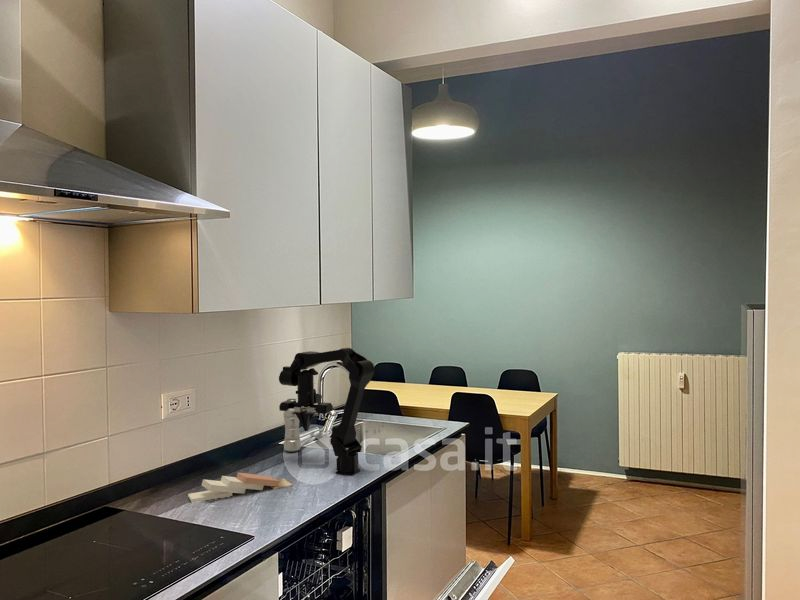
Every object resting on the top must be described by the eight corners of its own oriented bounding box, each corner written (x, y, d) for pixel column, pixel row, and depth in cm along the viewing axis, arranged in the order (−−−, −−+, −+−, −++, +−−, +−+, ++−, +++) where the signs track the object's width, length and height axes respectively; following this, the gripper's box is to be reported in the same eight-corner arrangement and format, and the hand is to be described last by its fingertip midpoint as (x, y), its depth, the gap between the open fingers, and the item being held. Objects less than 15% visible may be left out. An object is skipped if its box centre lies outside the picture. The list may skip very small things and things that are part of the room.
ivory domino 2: (237, 482, 200) (203, 479, 192) (246, 487, 195) (211, 484, 188) (235, 488, 199) (201, 485, 191) (244, 493, 195) (209, 490, 187)
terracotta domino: (270, 476, 205) (237, 472, 197) (279, 481, 201) (246, 477, 193) (268, 481, 204) (236, 478, 197) (277, 486, 200) (244, 483, 193)
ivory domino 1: (227, 487, 198) (187, 493, 192) (232, 492, 193) (191, 499, 187) (227, 492, 198) (188, 499, 192) (232, 498, 193) (191, 505, 187)
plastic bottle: (280, 452, 242) (279, 400, 242) (289, 448, 248) (288, 397, 248) (295, 454, 240) (294, 401, 239) (304, 449, 246) (303, 398, 245)
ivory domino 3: (255, 479, 203) (222, 475, 195) (264, 484, 199) (230, 481, 191) (253, 485, 202) (220, 481, 195) (262, 490, 198) (228, 487, 191)
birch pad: (283, 479, 209) (283, 478, 209) (292, 486, 202) (292, 484, 202) (266, 482, 206) (266, 481, 206) (273, 489, 199) (273, 488, 199)
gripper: (339, 384, 230) (339, 427, 230) (293, 382, 236) (294, 424, 236) (325, 389, 219) (325, 434, 220) (278, 387, 226) (279, 431, 226)
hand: (306, 430), depth 226 cm, fingers closed
